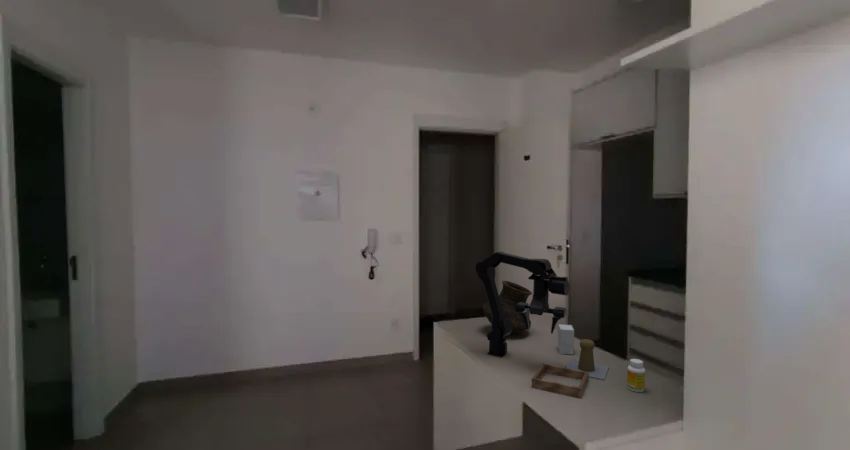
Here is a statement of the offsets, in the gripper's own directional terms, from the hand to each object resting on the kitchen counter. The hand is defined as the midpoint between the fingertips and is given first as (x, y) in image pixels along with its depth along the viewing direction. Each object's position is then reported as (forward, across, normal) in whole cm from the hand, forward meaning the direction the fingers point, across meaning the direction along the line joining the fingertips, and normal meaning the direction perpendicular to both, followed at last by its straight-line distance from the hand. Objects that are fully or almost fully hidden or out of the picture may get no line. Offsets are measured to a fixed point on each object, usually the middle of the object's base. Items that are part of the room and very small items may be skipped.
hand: (539, 331), depth 164 cm
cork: (+13, +17, +4) cm, 21 cm away
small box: (+13, +6, +21) cm, 26 cm away
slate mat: (+13, +17, +4) cm, 22 cm away
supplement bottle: (+13, +34, -5) cm, 37 cm away
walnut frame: (+13, +11, -14) cm, 22 cm away
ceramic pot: (+13, -24, +33) cm, 43 cm away
